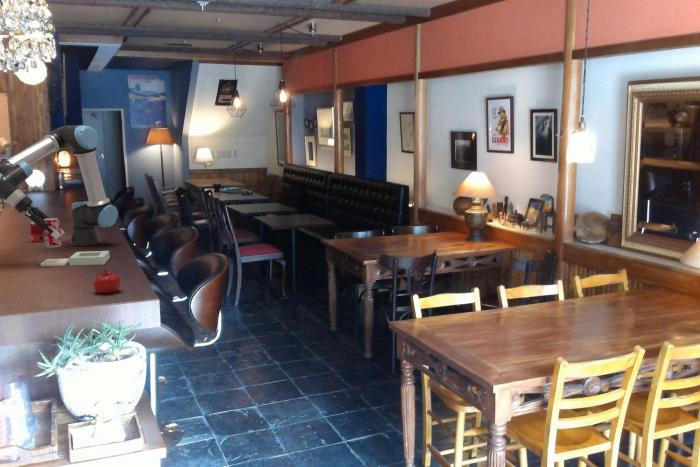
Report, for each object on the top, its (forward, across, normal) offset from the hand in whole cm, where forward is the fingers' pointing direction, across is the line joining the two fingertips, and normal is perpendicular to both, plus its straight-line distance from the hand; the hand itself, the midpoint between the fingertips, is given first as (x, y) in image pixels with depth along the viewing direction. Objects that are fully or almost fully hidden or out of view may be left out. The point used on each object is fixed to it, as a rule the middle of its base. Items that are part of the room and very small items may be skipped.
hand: (60, 236), depth 295 cm
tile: (+7, 0, -12) cm, 13 cm away
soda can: (+1, 0, -6) cm, 6 cm away
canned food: (-9, -61, -28) cm, 68 cm away
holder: (+18, -2, -1) cm, 18 cm away
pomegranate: (+30, +57, +12) cm, 65 cm away
